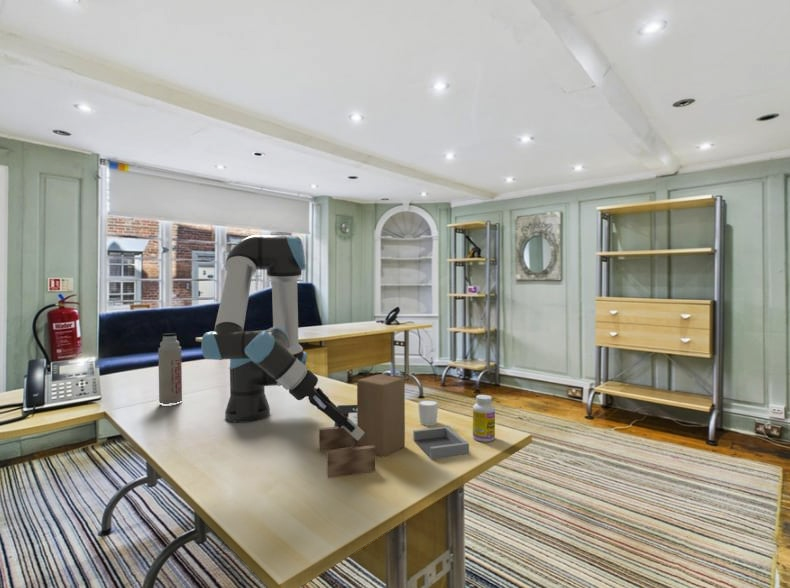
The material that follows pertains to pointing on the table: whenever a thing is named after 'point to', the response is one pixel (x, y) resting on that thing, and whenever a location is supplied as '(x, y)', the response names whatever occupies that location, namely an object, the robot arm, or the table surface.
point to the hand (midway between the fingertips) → (360, 435)
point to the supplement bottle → (483, 419)
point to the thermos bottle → (170, 370)
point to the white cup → (428, 412)
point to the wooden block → (381, 413)
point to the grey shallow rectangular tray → (440, 442)
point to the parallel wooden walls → (345, 453)
